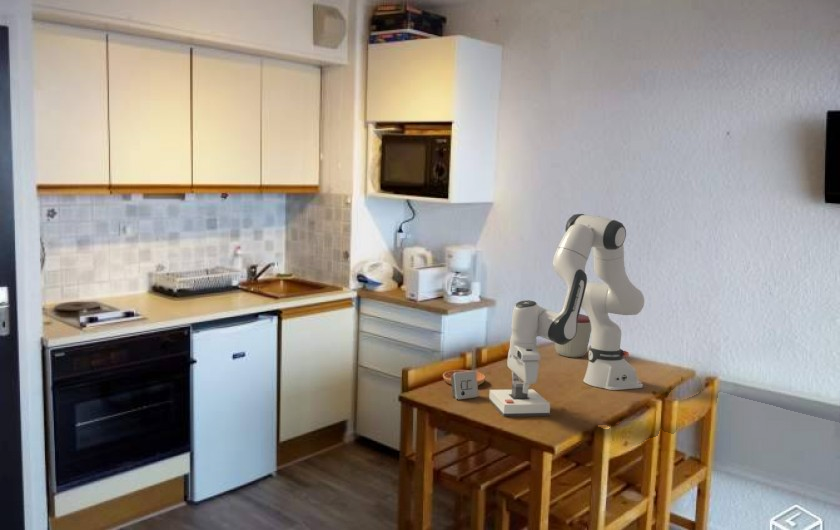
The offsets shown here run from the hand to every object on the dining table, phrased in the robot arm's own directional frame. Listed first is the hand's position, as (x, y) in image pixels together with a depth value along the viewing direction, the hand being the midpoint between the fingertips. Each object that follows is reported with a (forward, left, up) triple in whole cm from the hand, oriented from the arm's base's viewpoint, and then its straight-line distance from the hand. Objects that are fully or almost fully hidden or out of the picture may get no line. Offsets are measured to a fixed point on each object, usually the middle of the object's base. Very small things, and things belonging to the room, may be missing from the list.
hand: (520, 388), depth 248 cm
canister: (-49, -69, -7) cm, 85 cm away
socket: (0, 0, -7) cm, 7 cm away
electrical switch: (+16, -13, -7) cm, 22 cm away
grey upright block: (0, 0, -6) cm, 6 cm away
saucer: (+11, -30, -7) cm, 33 cm away
